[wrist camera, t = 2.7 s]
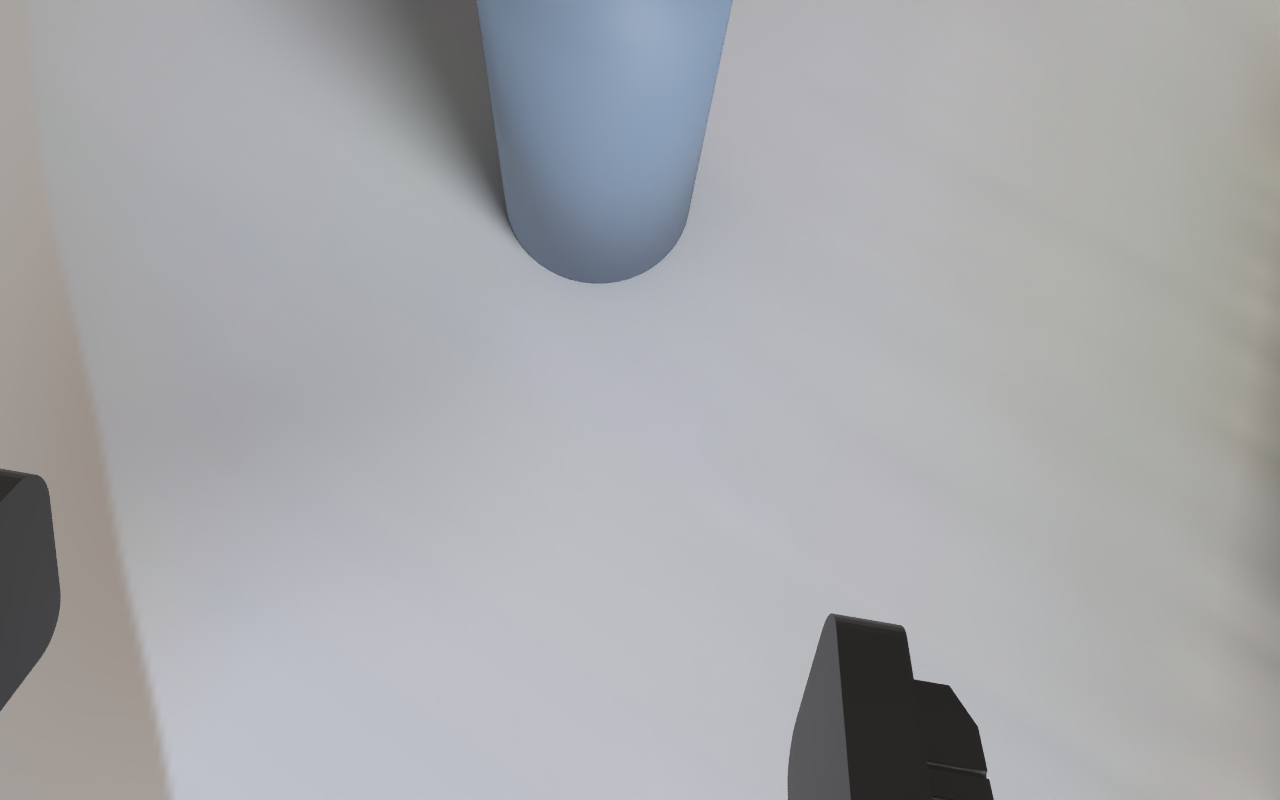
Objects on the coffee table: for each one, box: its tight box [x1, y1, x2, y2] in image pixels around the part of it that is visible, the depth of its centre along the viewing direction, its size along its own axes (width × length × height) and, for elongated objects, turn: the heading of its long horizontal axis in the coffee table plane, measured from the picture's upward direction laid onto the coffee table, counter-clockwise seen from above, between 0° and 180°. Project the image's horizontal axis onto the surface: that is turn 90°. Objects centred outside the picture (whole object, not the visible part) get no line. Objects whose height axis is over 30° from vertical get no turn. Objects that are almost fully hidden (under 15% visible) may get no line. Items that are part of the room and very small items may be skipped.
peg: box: [476, 0, 733, 283], centre depth 24 cm, size 4×4×10 cm
